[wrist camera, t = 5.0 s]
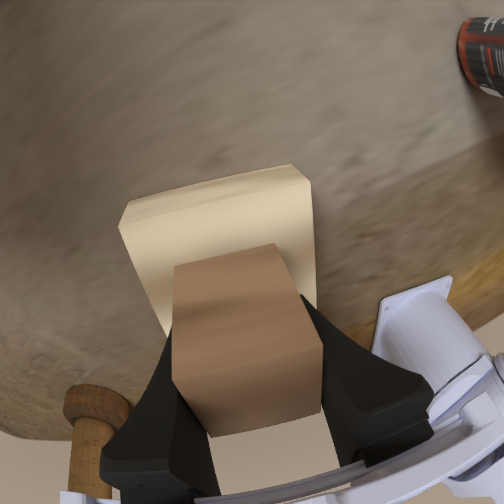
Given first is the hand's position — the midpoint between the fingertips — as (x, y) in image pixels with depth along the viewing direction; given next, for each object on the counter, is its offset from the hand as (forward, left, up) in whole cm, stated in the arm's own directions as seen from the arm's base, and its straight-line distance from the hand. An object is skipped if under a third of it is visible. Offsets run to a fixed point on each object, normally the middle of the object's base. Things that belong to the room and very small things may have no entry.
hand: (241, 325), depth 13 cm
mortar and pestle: (-13, +16, -6) cm, 22 cm away
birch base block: (0, 0, -6) cm, 6 cm away
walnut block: (0, 0, -2) cm, 2 cm away
